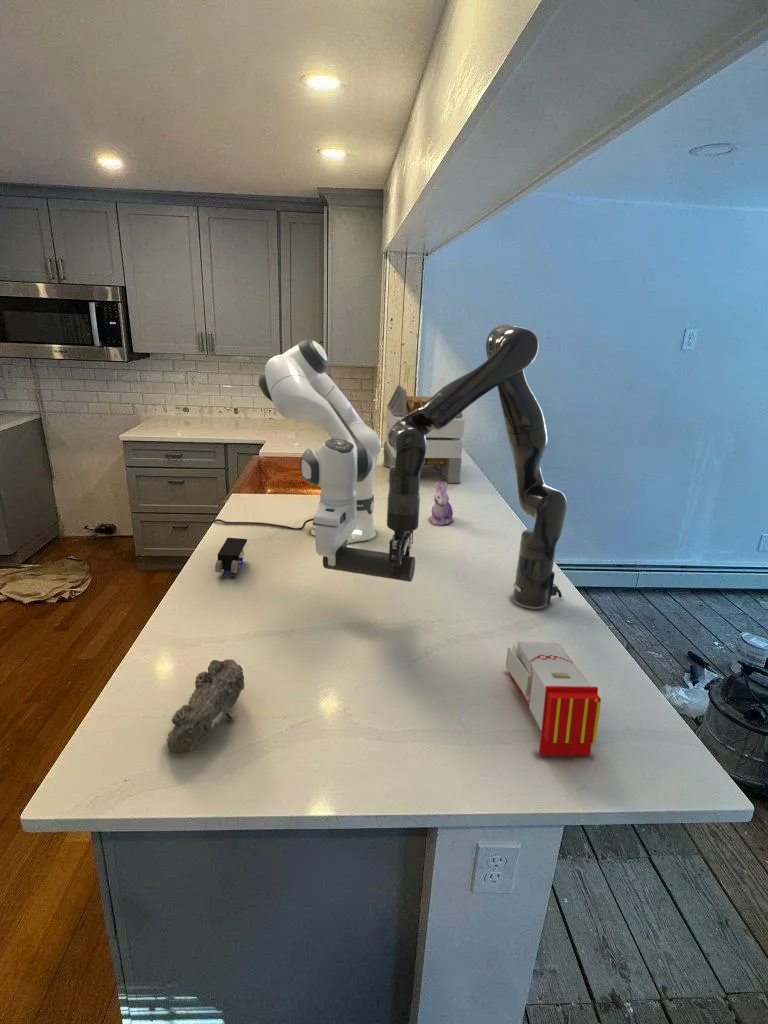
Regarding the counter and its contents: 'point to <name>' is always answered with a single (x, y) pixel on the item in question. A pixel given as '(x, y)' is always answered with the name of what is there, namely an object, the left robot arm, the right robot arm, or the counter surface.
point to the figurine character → (230, 556)
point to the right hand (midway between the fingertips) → (400, 570)
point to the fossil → (206, 705)
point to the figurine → (441, 506)
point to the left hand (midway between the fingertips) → (337, 558)
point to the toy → (556, 697)
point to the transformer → (427, 437)
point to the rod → (370, 563)
